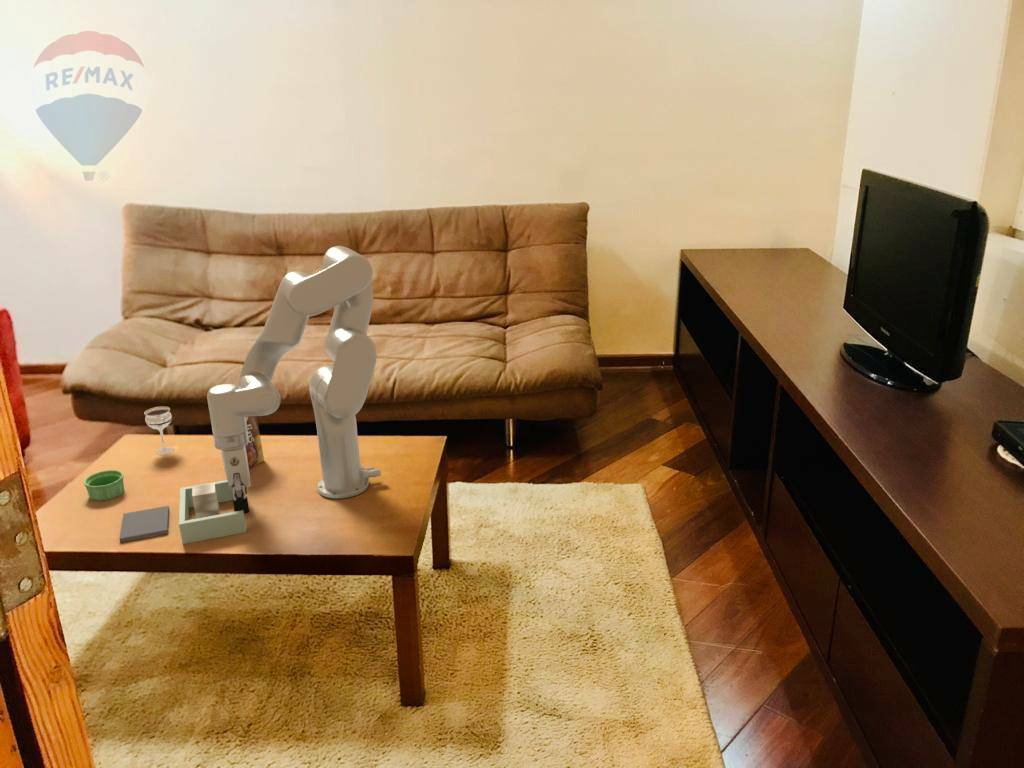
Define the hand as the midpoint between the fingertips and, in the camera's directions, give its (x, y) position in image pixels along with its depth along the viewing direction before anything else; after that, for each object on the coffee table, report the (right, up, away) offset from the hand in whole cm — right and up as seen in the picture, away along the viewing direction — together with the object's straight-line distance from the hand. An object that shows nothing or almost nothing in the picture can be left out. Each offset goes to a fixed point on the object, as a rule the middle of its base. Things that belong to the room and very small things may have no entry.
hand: (241, 504), depth 199 cm
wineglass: (-32, +9, +35) cm, 49 cm away
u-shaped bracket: (-6, -3, -1) cm, 7 cm away
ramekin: (-38, +1, +13) cm, 40 cm away
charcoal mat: (-21, -5, -3) cm, 22 cm away
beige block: (-7, -4, -1) cm, 8 cm away
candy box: (-6, +6, +25) cm, 26 cm away
